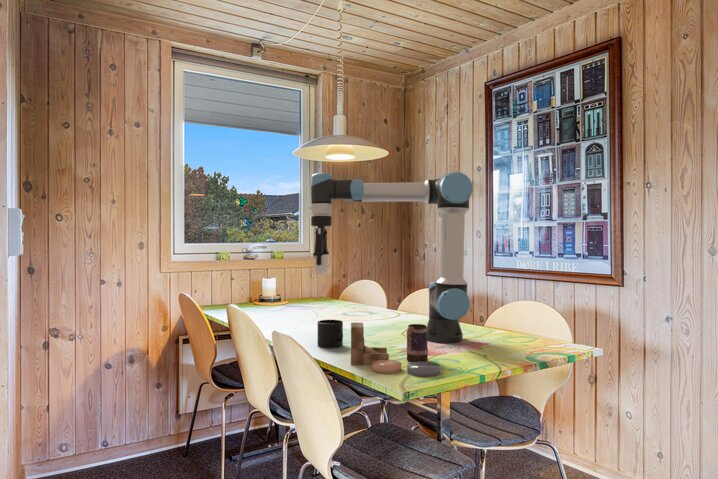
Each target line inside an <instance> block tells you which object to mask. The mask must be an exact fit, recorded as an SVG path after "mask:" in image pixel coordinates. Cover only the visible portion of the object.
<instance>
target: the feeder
mask: <svg viewBox="0 0 718 479" xmlns="http://www.w3.org/2000/svg"><path fill="white" fill-rule="evenodd" d="M364 327H365V326H364V322H350V366H372V362H373V361H376V360H390V356H389V354H390V353H388V352H387V351H388V348H387V347H369V346H367V345H365V337H364V331H365V330H364V329H365V328H364Z"/></svg>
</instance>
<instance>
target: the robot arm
mask: <svg viewBox="0 0 718 479" xmlns="http://www.w3.org/2000/svg"><path fill="white" fill-rule="evenodd" d="M332 176H333V175H332V174H331V173H326V172H325V173H324V172H320V173H319V172H317V173H314V174H312V175H311V181H310V182H311V186H310V198H311V199H310V202H311V204H310V206H309V210H311V215H312V216H311V217H310V225H311V226H312V227H316V229H315V233H314V234H315V242H314V243H315V244H314V252H313V254H312V255H313V257H314V261H315V262H314V264H315V265H314V274H315V275H324V273H325V272H326V273H327V272H328V255H329V254H330V252H329V250H328V231H327V228H326V227H331V226H332V220H333V219H332V216H331V215H332V214H333V213H332V212H333V210H332V208H333V206H332V203H333V200H336V201H337V200H340V201H342V202H344V203H348V204H350V203H366V202H368V203H369V202H372V203H373V202H374V203H379V202H380V203H382V202H383V203H384V202H386V203H388V202H389V203H390V202H391V203H392V202H397V203H398V202H423V203H425V204H426V205H437V210H438V211H439V212H440V214H441V215H440V216H441V219H440V220H441V222H440V223H441V224H440V258H439V259H440V260H439V261H440V262H439V264H440V265H439V278H438V279H437V280H436V281H431V282H430V283H429V287H428V322H427V324H426V328H427V342H428V341H430V342H433V343H444V344H445V343H447V344H449V343H451V344H452V343H459V342H462V341H463V339H464V334H463V330H462V327H461V324H460V321H459V320H460V319H462V318H463V317H464V316H466V315H467V314H468V312H469V310H470V307H471V301H470V298H469V295H468V282H467V281H466V279H465V278H464V268H465V266H464V262H465V260H464V257H465V226H466V224H465V223H466V222H465V219H466V218H465V217H466V213H467V212H468V211H469V210H470V198H471V196H472V194H473V190H474V189H473V188H474V187H473V183H472V180H471V179H470V177H469V176H468V175H466V174H465V173H463V172H459V171H453V172H449V173H446V174H445V175H443V176H442V177H440V178H436V179H426V180H425V181H424V182H364V180H363V179H355V178H353V179H352V178H351V179H349V178H345V179H342V178H340V179H339V178H338V179H335V178H333V177H332Z"/></svg>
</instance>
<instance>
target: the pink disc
mask: <svg viewBox="0 0 718 479" xmlns="http://www.w3.org/2000/svg"><path fill="white" fill-rule="evenodd" d="M371 371H372V372H374V373H378V374H388V375H389V374H396V373H400V372H401V371H402V362H401V361H399V360H395V359H389V360H376V361H373V362H372V365H371Z"/></svg>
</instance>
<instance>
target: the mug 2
mask: <svg viewBox="0 0 718 479" xmlns="http://www.w3.org/2000/svg"><path fill="white" fill-rule="evenodd" d="M426 327H427V324H421V323H412V324H408V327H407V329H406V361H408V362H409V363H411V362H428V359H429V358H428V354H429V348H428V340H427V328H426Z"/></svg>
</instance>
